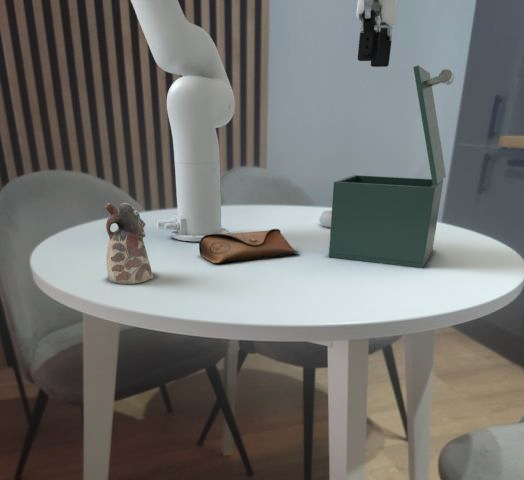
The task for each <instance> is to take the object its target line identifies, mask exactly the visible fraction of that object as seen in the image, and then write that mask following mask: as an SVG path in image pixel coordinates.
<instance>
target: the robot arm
mask: <svg viewBox="0 0 524 480" xmlns="http://www.w3.org/2000/svg"><path fill="white" fill-rule="evenodd" d="M130 3H131V5H132V7H133V10H134V11H135V15H136V18H137V20H138V23H139V25H140V28H141V30H142V33H143V35H144V37H145V40H146V43H147V45H148V47H149V50H150V53H151V55H152V57H153V59H154V62H155V63H156V65H157V66H158V67H159V68H160V69H161V70H163V71H164V72H166V73H168V74H172V75H178V76H180V77H179V78H176V80H175V81H173V82H172V84H171V85H170V87H169V89H168V91H167V95H166V96H167V97H166V112H167V116H168V121H169V126H170V130H171V136H172V137H171V138H172V144H173V145H172V146H173V158H174V159H173V160H174V170H175V171H174V172H175V173H174V175H175V188H176V189H175V191H176V192H175V193H176V208H177V209H176V210H177V214H173V217H171V218H170V219H158V220H156V224H155V225H156V229H157V230H165V231H170V230H171V237H172V238H173V239H175V240H177V241H178V240H179V241H183V242H196V243H197V242H198V243H200V240H201V239H202V238H203V237H204V236H206V235H210V234H230V233H229V230H228V229H227V228H225V227H222V195H221V194H222V191H221V159H220V158H221V153H220V152H221V151H220V143H219V137H218V134H217V128H222V127H224V126H226V125H227V124H229V122H230V121H231V120H232V118H233V117H234V114H235V109H236V100H235V95H234V91H233V88H232V85H231V82H230V80H229V77H228V75H227V72H226V70H225V67H224V64H223V62H222V61H223V60H222V59H221V56H220V54H219V51H218V48H217V46H216V44H215V42H214V40H213V38H212V37H211V35H210V34H209V33H208V32H207V31H206V30H205V29H204V28H202V27H201V26H199V25H197V24H195V23H191V22H190V21H189V20H188V19H187V18H186V16H185V13H184V12H183V9H182V7H181V4H180V2H179V0H130ZM398 6H399V0H357V5H356V12H355V14H356V18H357V20H358V21H359V22H360V32H359V40H358V48H357V49H358V50H357V51H358V52H357V61H359V62H370V66H371V67H373V68H387V67H389V65H390V59H391V58H390V57H391V49H392V43H393V42H392V37H393V26H394V25H395V23H396V21H397V14H398V8H399V7H398Z"/></svg>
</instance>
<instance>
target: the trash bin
mask: <svg viewBox="0 0 524 480" xmlns="http://www.w3.org/2000/svg"><path fill="white" fill-rule="evenodd" d="M443 185H444V179H443V180H442V181H441V182H440V183H438V184H437V185H433V184H432V178H417V177H399V176H397V177H396V176H381V175H380V176H378V175H377V176H376V175H358V174H353V175H350V176H347V177H344V178H341V179H339V180H336V181H333V190H332V201H331V210H332V216H331V228H330V233H329V247H328V248H329V249H328V258H335V259H343V260H349V261H350V260H351V261H360V262H368V263H378V264H384V265H385V264H386V265H394V266H404V267H413V268H419V269H420V268H421V269H422V268H424V266H425V264H426V263H427V262H428V259H429V258H430V256H431V254H432V253H433V249H434V242H435V236H436V231H437V224H438V219H439V211H440V205H441V198H442V194H443V193H442V191H443Z"/></svg>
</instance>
